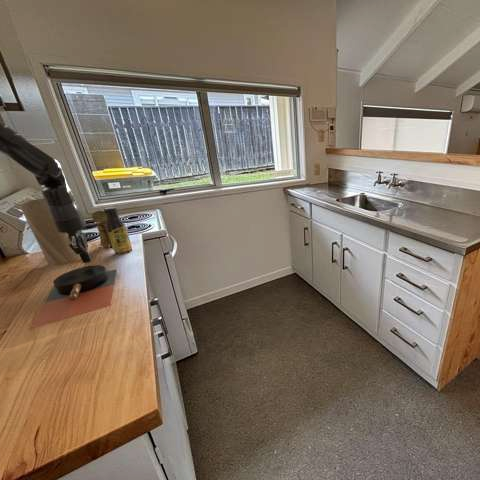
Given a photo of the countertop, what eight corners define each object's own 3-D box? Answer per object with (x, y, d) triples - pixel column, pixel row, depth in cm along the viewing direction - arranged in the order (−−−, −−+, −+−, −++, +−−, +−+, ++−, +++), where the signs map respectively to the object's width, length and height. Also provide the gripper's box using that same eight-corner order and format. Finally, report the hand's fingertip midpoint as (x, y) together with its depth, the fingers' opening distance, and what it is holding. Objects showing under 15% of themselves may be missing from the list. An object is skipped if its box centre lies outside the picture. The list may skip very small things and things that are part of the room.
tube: (58, 268, 98) (27, 205, 89) (43, 265, 102) (12, 203, 92) (87, 257, 107) (62, 198, 97) (73, 254, 110) (47, 197, 101)
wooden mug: (99, 253, 111) (83, 213, 104) (102, 243, 121) (87, 206, 114) (124, 247, 115) (111, 209, 108) (124, 239, 126) (112, 203, 119)
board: (29, 332, 65) (28, 329, 65) (56, 285, 86) (55, 283, 86) (111, 307, 74) (110, 305, 74) (118, 270, 95) (117, 268, 95)
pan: (45, 315, 70) (39, 304, 69) (63, 281, 87) (58, 272, 86) (104, 298, 77) (99, 288, 76) (110, 270, 94) (107, 261, 92)
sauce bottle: (122, 257, 106) (105, 210, 98) (112, 255, 108) (94, 209, 100) (137, 250, 112) (122, 206, 104) (127, 249, 113) (111, 205, 106)
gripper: (57, 214, 90) (77, 258, 97) (47, 223, 80) (70, 272, 87) (84, 210, 94) (102, 252, 101) (78, 218, 84) (98, 265, 91)
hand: (87, 261), depth 94 cm, fingers closed
